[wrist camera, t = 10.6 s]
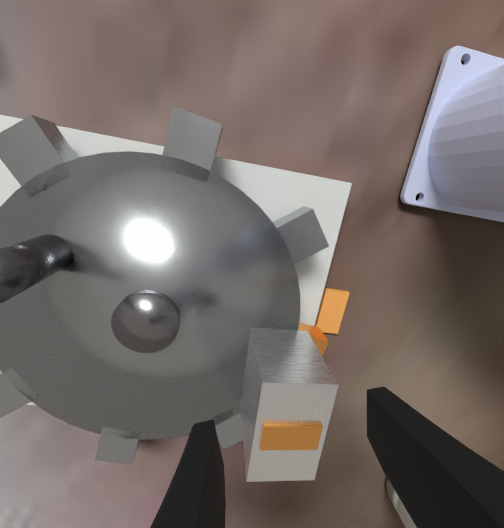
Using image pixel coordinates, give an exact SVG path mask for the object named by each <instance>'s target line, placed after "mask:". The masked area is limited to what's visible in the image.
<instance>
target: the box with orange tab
mask: <svg viewBox="0 0 504 528" xmlns="http://www.w3.org/2000/svg"><path fill="white" fill-rule="evenodd" d="M337 389H338V383H337V381H336V379H335V378H334V376H333V374H332V372H331V371H330V369H329V367H328V366H327V364H326V362H325V360H324V359H323V357H322V355H321V354H320V352H319V350H318V348H317V347H316V345H315V343H314V341H313V340H312V338H311V336H310V335H309V333H308V331H301V330H283V329H266V328H251V331H250V338H249V345H248V353H247V360H246V367H245V374H244V381H243V388H242V396H241V403H240V414H241V426H242V437H243V449H244V460H245V472H246V482H257V481H299V480H315V476H316V472H317V468H318V464H319V460H320V456H321V452H322V448H323V444H324V440H325V436H326V433H327V429H328V425H329V421H330V417H331V413H332V409H333V405H334V401H335V397H336V393H337Z"/></svg>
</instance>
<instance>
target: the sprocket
mask: <svg viewBox="0 0 504 528" xmlns="http://www.w3.org/2000/svg"><path fill="white" fill-rule="evenodd" d="M222 125H223V124H220V123H217V122H215V121H212V120H209V119H207V118H204V117H201V116H199V115H196V114H193V113H190V112H188V111H185V110H182V109H180V108H177V107H174V106H173V109H172V114H171V118H170V123H169V127H168V132H167V136H166V141H165V146H164V150H163V155H160V154H155V153H144V152H132V151H125V152H106V153H99V154H94V155H89V156H84V157H79V158H78V157H77V156H76V154H75V153H74V151H73V150H72V148H71V147H70V146H69V144H68V143H67V141H66V140H65V138H64V137H63V135H62V134H61V132H60V131H59V129H58V128H57V126H56V125H55V123H53V122H50V121H47V120H44V119H42V118H39V117H36V116H33V115H30V116H28V117H27V118H25V119H23V120H21V121H20V122H18V123H16V124H14V125H13V126H11V127H9V128H7V129H6V130H4V131H2V132H0V159H1V160H2V162H3V163H4V164H5V166H6V167H7V168H8V170H9V171H10V172H11V173H12V175H13V176H14V177H15V179H16V180H17V181H18V183H19V184H20V185H21V187H20V188H19V189H17V190H16V191H15V192H14V193H13V194H12V195H11V196H10V197H9V198H8V199H7V200H6V201H5V202H4V203H3V204H2V205H1V207H0V418H1V417H3V416H5V415H7V414H9V413H11V412H13V411H15V410H17V409H18V408H20V407H22V406H24V405H26V404H28V403H30V402H33V403H34V404H36V405H37V406H38V407H40V408H42V409H43V410H45V411H46V412H48V413H50V414H51V415H53V416H55V417H57V418H59V419H61V420H63V421H65V422H67V423H69V424H71V425H74V426H76V427H79V428H82V429H85V430H87V431H91V432H95V433H98V434H101V435H100V440H99V444H98V449H97V454H96V458H95V460H98V461H106V462H115V463H123V464H131V465H132V463H133V460H134V456H135V453H136V450H137V447H138V443H139V440H140V439H141V440H148V439H165V438H172V437H179V436H184V435H188V434H190V432H191V429H192V426H193V425H194V424H195V423H199V422H204V421H209V420H214V423H215V428H216V432H217V437H218V441H219V444H220V445H221V446H222V447H223V449H226V448H228V447H230V446H232V445H234V444H236V443H238V442H240V441H242V440H243V437H242V426H241V414H240V403H241V396H242V388H243V381H244V374H245V367H246V360H247V353H248V345H249V338H250V331H251V328H266V329H283V330H301V331H308V333H309V335H310V336H311V338H312V340H313V341H314V343H315V345H316V347H317V348H318V350H319V352H320V354H321V355H322V356H323V354H324V351H325V349H326V347H327V345H328V342H329V341H328V339H327V338H326V336H325V335H324V334H323V332H322V331H321V329H320V328H319V327H316V326H312V325H308V324H304V323H300V322H299V319H300V289H299V282H298V276H297V272H296V269H295V266H294V264H296V263H298V262H300V261H302V260H304V259H306V258H308V257H310V256H312V255H314V254H315V253H317V252H319V251H321V250H323V249H325V248H327V247H329V245H328V242H327V240H326V238H325V235H324V233H323V231H322V228H321V226H320V224H319V221H318V219H317V217H316V214H315V212H314V210H313V209H312V208H309V207H305V206H303V207H301V208H299V209H297V210H295V211H293V212H291V213H290V214H288V215H286V216H284V217H282V218H280V219H278V220H276V221H274V222H272V221H271V220H270V218H269V217H268V216H267V215H266V214H265V213H264V211H263V210H262V209H261V208H260V207H259V206H258V205H257V204H256V203H255V202H254V201H253V200H252V199H251V198H250V197H248V196H247V195H246V194H245V193H244V192H243V191H242V190H240V189H239V188H237V187H236V186H234V185H233V184H231V183H230V182H229V181H227V180H226V179H224V178H222V177H221V176H219V175H217V174H215V173H213V172H211V171H212V167H213V164H214V160H215V156H216V152H217V149H218V145H219V141H220V137H221V134H222Z"/></svg>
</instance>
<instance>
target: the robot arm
mask: <svg viewBox="0 0 504 528" xmlns="http://www.w3.org/2000/svg"><path fill="white" fill-rule="evenodd" d="M461 57H462V58H463V59H464V64H462V63H461ZM418 193H419V199H418V200H417V201H416V195H417V194H418ZM400 198H401V201H402V202H403V203H405V204H409V205H414V206H420V207H425V208H430V209H436V210H441V211H446V212H451V213H457V214H462V215H467V216H473V217H478V218H483V219H489V220H494V221H499V222H504V59H502V58H499V57H495V56H492V55H489V54H485V53H482V52H479V51H475V50H472V49H469V48H465V47H462V46H455V47H453V48H451V49H450V50H448V51H447V52H446V53H445V55H444V57H443V60H442V64H441V67H440V70H439V73H438V76H437V79H436V83H435V86H434V89H433V92H432V95H431V99H430V102H429V105H428V108H427V111H426V115H425V118H424V121H423V124H422V127H421V131H420V134H419V137H418V140H417V143H416V147H415V150H414V153H413V156H412V159H411V163H410V166H409V169H408V172H407V175H406V179H405V182H404V185H403V188H402V191H401V196H400ZM367 437H368V439H369V441H370V443H371V445H372V448H373V450H374V452H375V454H376V456H377V458H378V461H379V463H380V465H381V467H382V469H383V471H384V473H385V474H386V476H387V478H388V480H389V481H390V483H391V485H392V486H393V488H394V490H395V491H396V493H397V495H398V497H399V498H400V500H401V502H402V503H403V505H404V507H405V508H406V510H407V512H408V514H409V515H410V517H411V519H412V520H413V522H414V524H415V525H416V527H417V528H504V471H503V470H501V469H500V468H498V467H496V466H495V465H493V464H492V463H490V462H489V461H487V460H486V459H484V458H483V457H481V456H480V455H478V454H477V453H475V452H474V451H472V450H471V449H469V448H468V447H466V446H465V445H463V444H462V443H460V442H459V441H458V440H456V439H455V438H453V437H452V436H451V435H449V434H448V433H446V432H445V431H444V430H442V429H441V428H439V427H438V426H437V425H435V424H434V423H432V422H431V421H430V420H428V419H427V418H426V417H424V416H423V415H422V414H420V413H419V412H418V411H416V410H415V409H413V408H412V407H411V406H409V405H408V404H407V403H405V402H404V401H403V400H402V399H400V398H399V397H397V396H396V395H395V394H393V393H392V392H391V391H389V390H388V389H387V388H385V387H379V388H374V389H369V390H367ZM225 507H226V501H225V479H224V464H223V459H222V455H221V450H220V446H219V441H218V437H217V432H216V428H215V423H214V420H209V421H204V422H199V423H195V424H194V425H193V426H192V429H191V432H190V435H189V438H188V441H187V444H186V447H185V449H184V452H183V454H182V457H181V460H180V462H179V465H178V467H177V470H176V472H175V474H174V477H173V479H172V481H171V484H170V486H169V488H168V491H167V493H166V495H165V498H164V500H163V502H162V504H161V506H160V509H159V511H158V513H157V515H156V517H155V519H154V521H153V523H152V525H151V527H150V528H225Z"/></svg>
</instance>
